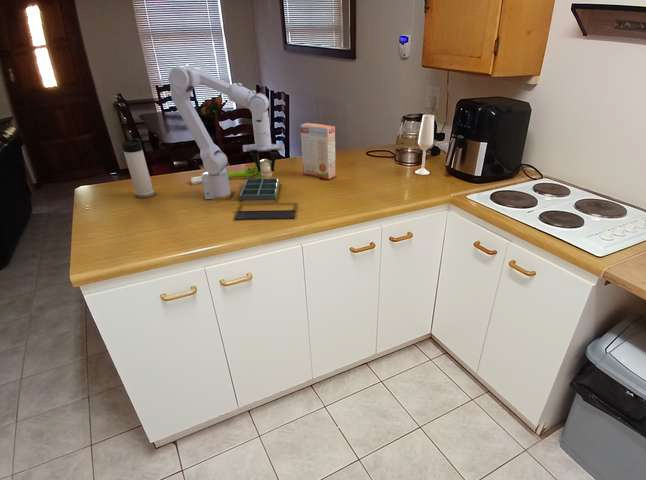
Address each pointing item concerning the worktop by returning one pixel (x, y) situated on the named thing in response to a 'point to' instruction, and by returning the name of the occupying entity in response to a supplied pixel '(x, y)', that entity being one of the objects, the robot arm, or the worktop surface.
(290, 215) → the mat
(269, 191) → the teal compartment tray
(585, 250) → the worktop surface
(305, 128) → the cracker box
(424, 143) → the champagne flute
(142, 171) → the travel mug
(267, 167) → the egg
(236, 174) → the celery
